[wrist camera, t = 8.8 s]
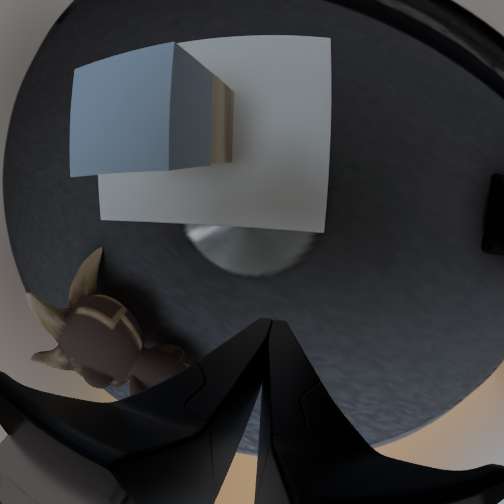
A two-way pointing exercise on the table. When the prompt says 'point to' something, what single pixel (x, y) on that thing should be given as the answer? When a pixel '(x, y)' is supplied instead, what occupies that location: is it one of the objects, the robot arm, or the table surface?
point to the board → (248, 144)
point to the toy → (102, 337)
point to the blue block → (141, 113)
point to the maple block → (221, 122)
